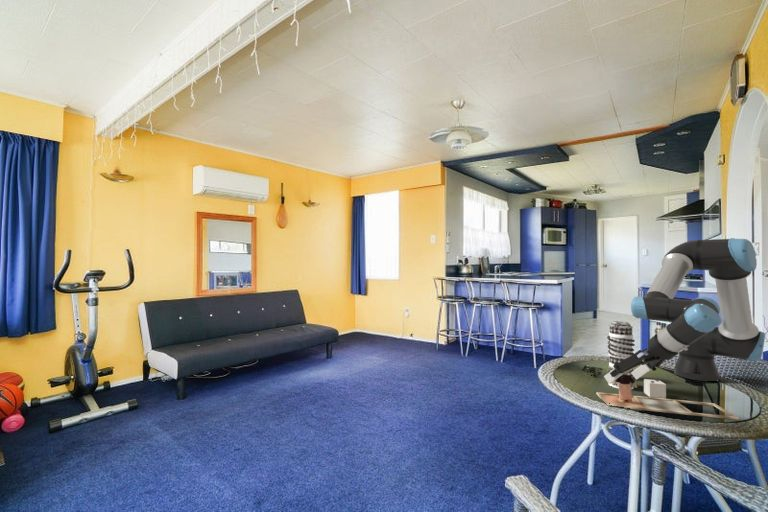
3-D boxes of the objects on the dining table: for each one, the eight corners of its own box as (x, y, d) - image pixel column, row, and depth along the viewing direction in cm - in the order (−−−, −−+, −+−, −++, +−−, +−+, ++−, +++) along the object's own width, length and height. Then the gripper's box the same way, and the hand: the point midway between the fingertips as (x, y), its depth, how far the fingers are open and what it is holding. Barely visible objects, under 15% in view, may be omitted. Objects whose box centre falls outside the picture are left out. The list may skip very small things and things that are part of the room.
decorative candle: (611, 388, 141) (611, 323, 141) (604, 381, 150) (604, 319, 150) (638, 391, 138) (638, 324, 139) (629, 383, 147) (629, 321, 148)
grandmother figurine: (631, 399, 129) (631, 363, 129) (638, 403, 125) (638, 366, 125) (609, 399, 129) (609, 362, 129) (616, 403, 125) (616, 365, 125)
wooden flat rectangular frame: (714, 405, 125) (714, 403, 125) (739, 420, 113) (739, 418, 113) (596, 393, 135) (596, 392, 135) (607, 406, 122) (607, 404, 122)
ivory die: (659, 393, 136) (659, 378, 136) (666, 398, 131) (665, 382, 131) (643, 392, 137) (643, 377, 137) (649, 397, 132) (649, 381, 132)
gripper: (650, 357, 106) (602, 392, 120) (702, 350, 116) (652, 384, 129) (632, 335, 112) (588, 371, 125) (683, 330, 121) (637, 365, 134)
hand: (620, 378), depth 127 cm, fingers open, 13 cm apart
